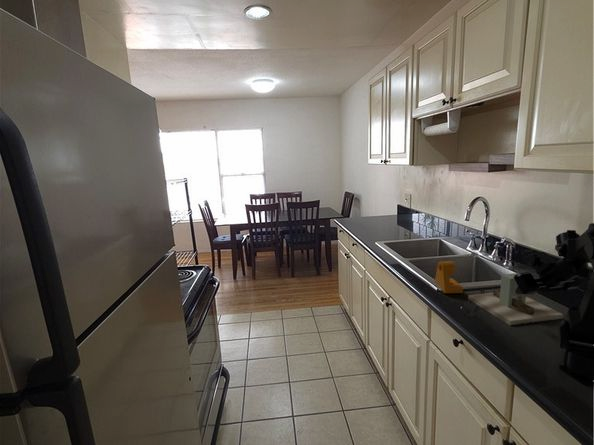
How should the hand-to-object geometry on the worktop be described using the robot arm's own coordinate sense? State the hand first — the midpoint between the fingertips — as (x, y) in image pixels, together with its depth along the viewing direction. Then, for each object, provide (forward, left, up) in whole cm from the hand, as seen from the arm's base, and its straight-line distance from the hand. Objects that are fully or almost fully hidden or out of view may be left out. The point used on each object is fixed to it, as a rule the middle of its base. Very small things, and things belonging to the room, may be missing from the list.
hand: (528, 291), depth 106 cm
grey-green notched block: (+6, 0, -7) cm, 10 cm away
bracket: (+26, +11, -9) cm, 30 cm away
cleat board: (+6, 0, -9) cm, 11 cm away
